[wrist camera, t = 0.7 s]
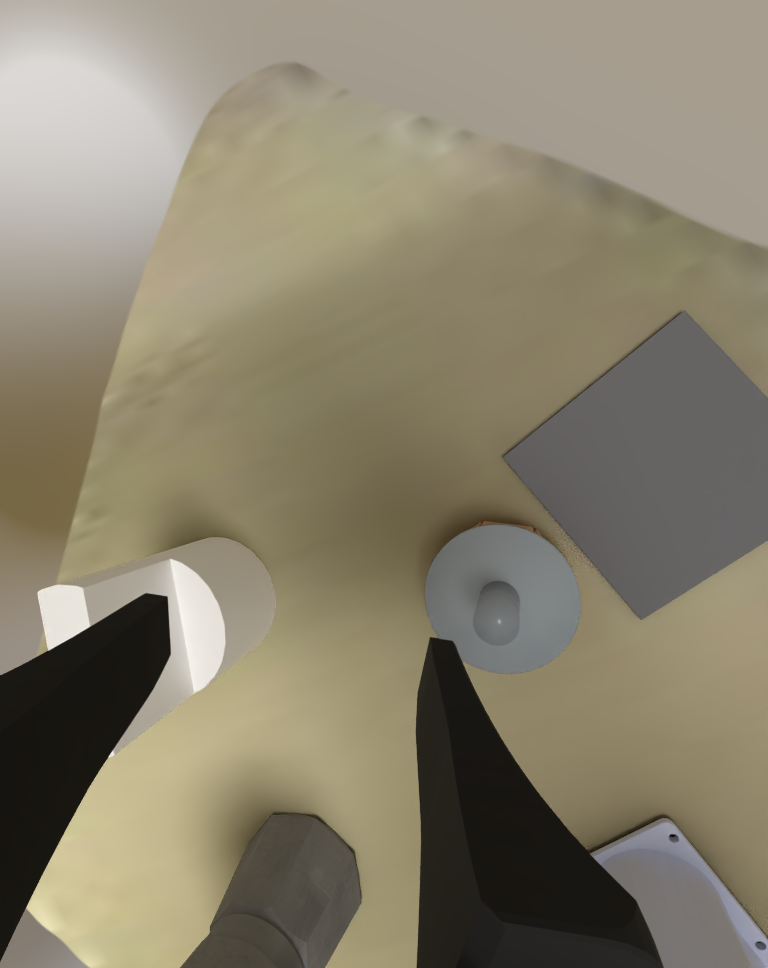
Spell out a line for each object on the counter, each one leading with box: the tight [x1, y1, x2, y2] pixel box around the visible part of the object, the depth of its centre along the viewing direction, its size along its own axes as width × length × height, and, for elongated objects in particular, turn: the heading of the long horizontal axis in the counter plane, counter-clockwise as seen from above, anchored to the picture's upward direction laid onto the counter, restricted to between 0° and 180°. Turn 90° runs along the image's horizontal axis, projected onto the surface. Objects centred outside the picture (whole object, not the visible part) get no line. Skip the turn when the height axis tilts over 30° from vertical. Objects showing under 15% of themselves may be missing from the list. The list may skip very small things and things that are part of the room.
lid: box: [425, 524, 581, 674], centre depth 25 cm, size 8×8×4 cm
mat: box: [503, 311, 768, 620], centre depth 26 cm, size 12×12×1 cm
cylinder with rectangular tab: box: [37, 537, 276, 758], centre depth 30 cm, size 9×9×12 cm
